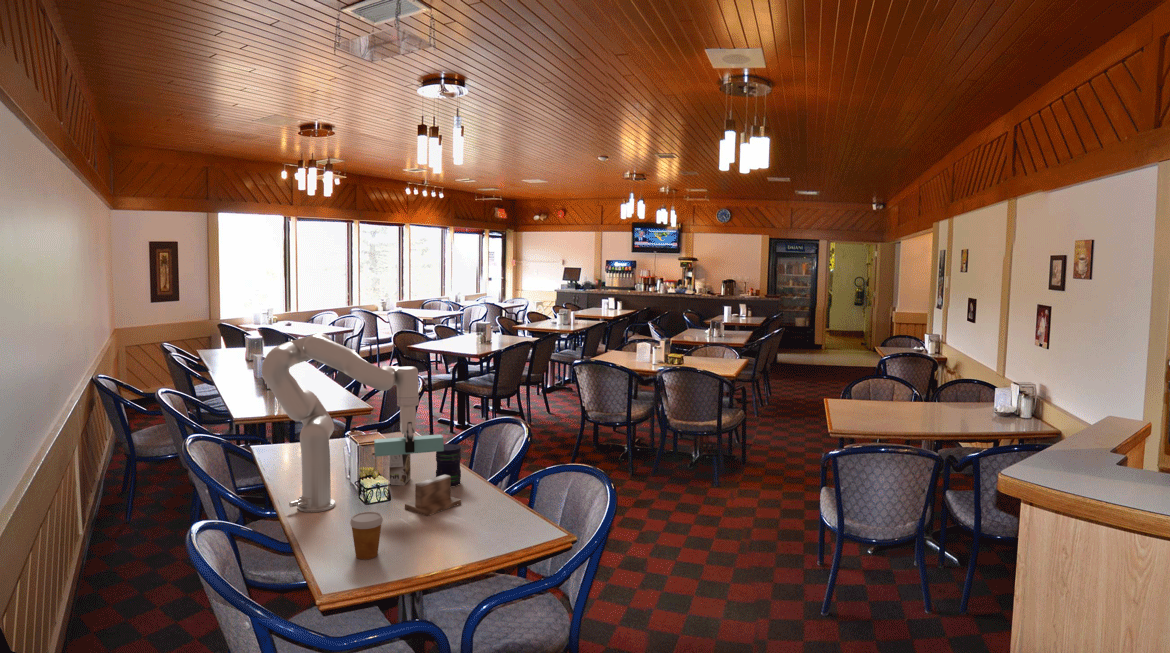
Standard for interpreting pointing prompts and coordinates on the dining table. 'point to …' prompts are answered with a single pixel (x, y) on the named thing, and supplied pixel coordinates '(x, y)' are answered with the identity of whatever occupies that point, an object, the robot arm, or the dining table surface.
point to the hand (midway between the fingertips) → (409, 449)
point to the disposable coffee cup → (366, 534)
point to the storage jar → (449, 462)
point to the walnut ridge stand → (433, 496)
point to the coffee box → (399, 469)
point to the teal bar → (398, 445)
